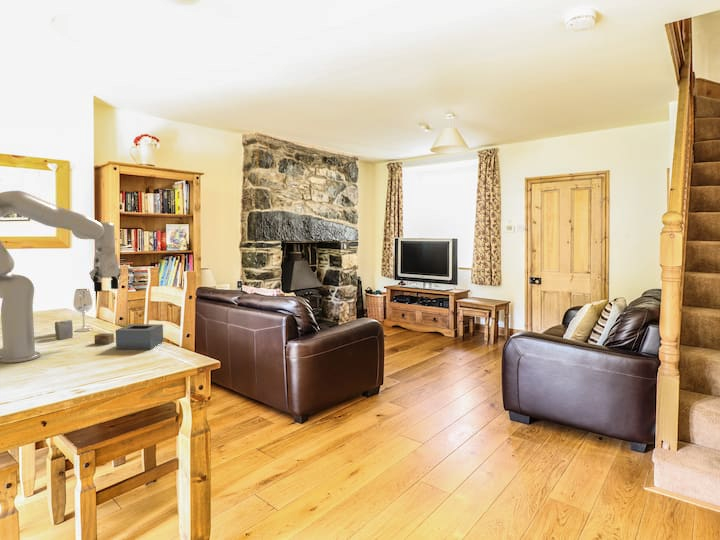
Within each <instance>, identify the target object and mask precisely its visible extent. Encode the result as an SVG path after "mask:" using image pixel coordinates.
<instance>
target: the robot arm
mask: <svg viewBox="0 0 720 540" xmlns="http://www.w3.org/2000/svg"><path fill="white" fill-rule="evenodd" d="M12 214H13V215H14V214H16V215H19V216H21V217H24V218H27V219H29V220H32V221H35V222H37V223H39V224H41V225H44V226H47V227H51V228H58V229H64V230H68V231H71V232H72V234H73V237H76V238H77V239H80V240H94V251H95V252H94V253H95V254H94V257H93V269H92V270H90V271H89V273H88V275H89V276H90V278H91V280H92V282H93V290H94V292H99V293H100V292H102V291H103V290H102V289H103V288H102V287H103V286H102V284H103V283H102V280H103V279H104V278H111V280H110V288H111V289H112V290H117V289H119V281H120V276H121V273H122V269H121V268H120V267H119V259H118V256H117V253H116V239H115V236H116V235H115V224H114V223H113V222H106V221H103V222H99V221H97V220H95V219H93V218H92V217H91V218H90V217H89V216H86V215H84V214H81V213H79V212H77V211H76V212H75V211H73V210H70V209H67V208H64V207H61V206H58V205H55V204H53V203H50V202H48V201H46V200H43V199H41V198H39V197H36V196H34V195H32V194H30V193H27V192H25V191H22V190H10V191H3V192H0V218H2V217H5V216H9V215H12ZM14 267H15V261H14V259H13V257H12V255H11V254H10V252H9V251H8V250H7V248H6V247H5V245H4V244H3V242H2V241H1V240H0V299H2V302H1V305H0V320H1V336H2V337H1V338H2V347H1V348H0V363H1V364H2V363H3V364H5V363H7V364H10V363H11V364H12V363H22V362H28V361H32V360H35V359H37V358H39V357H41V353H40V352H39V351H36V349H35V348H36V347H35V327H34V313H33V312H34V309H33V308H34V307H33V305H34V295H35V286H34V283H33V281H31V279H29V277H26V276H24V275H21V274H15V273H13V272H12V271H13V270H14Z"/></svg>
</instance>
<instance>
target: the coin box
mask: <svg viewBox="0 0 720 540" xmlns="http://www.w3.org/2000/svg"><path fill="white" fill-rule="evenodd" d="M162 342H163V343H164V325H163V324H157V323H156V324H155V323H154V324H150V323H149V324H141V323H140V324H138V323H136V324H133V323H131V324H127V325H126V326H123V327H120V328H118V329H116V330H115V347H116V349H115V350H117V351H118V350H119V351H121V350H123V351H125V350H126V351H127V350H128V351H129V350H130V351H131V350H134V351H143V350H144V351H149V350H150V351H151V350H153V349H155V348H156V347H155V346H157V345H158V344H160V343H162ZM163 343H162V344H163ZM160 345H161V344H160ZM158 346H159V345H158ZM158 346H157V347H158ZM154 347H155V348H154ZM152 348H153V349H152Z"/></svg>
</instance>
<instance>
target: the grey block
mask: <svg viewBox="0 0 720 540" xmlns="http://www.w3.org/2000/svg"><path fill="white" fill-rule="evenodd" d="M54 332H55V338H56V339H57V340H59V341H63V340H67V339H71V338H73V337H74V336H73V320H72V319H69V320H68V319H67V320H60V321H56V322H54Z"/></svg>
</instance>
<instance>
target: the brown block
mask: <svg viewBox="0 0 720 540" xmlns="http://www.w3.org/2000/svg"><path fill="white" fill-rule="evenodd" d="M114 335H115V334H114V333H113V332H112V333H109V332H107V333H106V332H103V333H102V332H101V333H96V334H95V335H94V337H93V339H94V345H111V344H113V343H115V340H114V339H115V337H114Z"/></svg>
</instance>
